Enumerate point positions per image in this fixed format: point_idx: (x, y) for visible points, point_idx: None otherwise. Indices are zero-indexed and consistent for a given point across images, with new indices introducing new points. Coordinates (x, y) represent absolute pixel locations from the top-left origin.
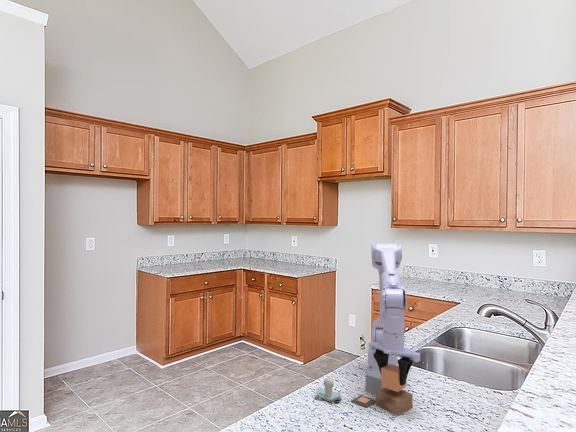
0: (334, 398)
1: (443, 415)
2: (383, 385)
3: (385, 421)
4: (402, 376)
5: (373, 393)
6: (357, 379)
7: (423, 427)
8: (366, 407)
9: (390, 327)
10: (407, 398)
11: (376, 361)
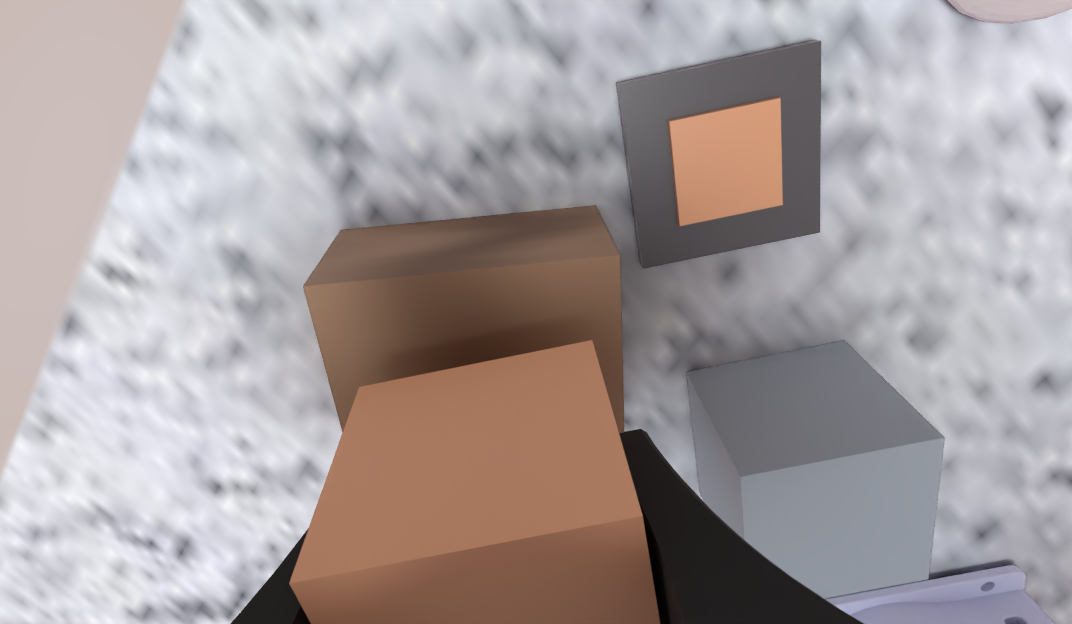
0: None
1: (188, 524)
2: (559, 357)
3: (314, 39)
4: (265, 585)
5: (757, 358)
6: (1021, 434)
7: (83, 266)
8: (620, 83)
9: None
10: None
11: (803, 588)
